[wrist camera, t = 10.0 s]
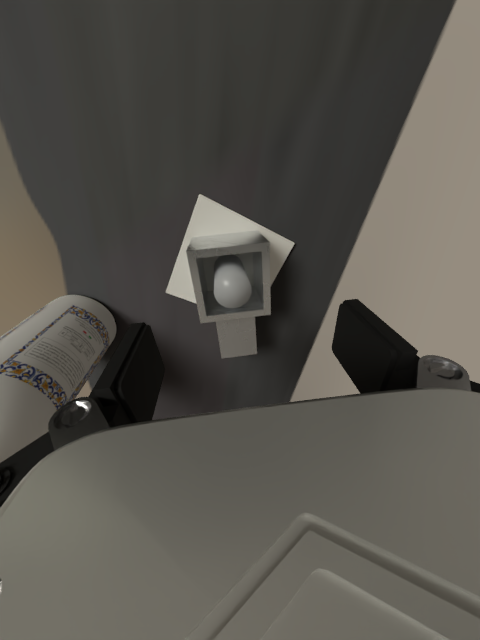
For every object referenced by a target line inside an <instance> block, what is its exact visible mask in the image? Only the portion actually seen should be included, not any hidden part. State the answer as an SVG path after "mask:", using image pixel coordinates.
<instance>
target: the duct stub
mask: <svg viewBox="0 0 480 640" xmlns="http://www.w3.org/2000/svg"><path fill="white" fill-rule="evenodd" d="M255 230H258V231H259V232H260V233H261V234H262V235H263V236H264V237H265V238H266V239H267V240H268V241H269V242H270V287H271V285H272V283H273V281H274V280H275V278H276V276H277V274H278V272H279V271H280V269H281V267H282V265H283V264H284V262H285V260H286V258H287V256H288V255H289V253H290V251H291V249H292V248H293V246H294V244H295V243H294V242H292V241H290V240H288V239H286V238H284V237H282V236H280V235H278V234H276V233H274V232H273V231H271V230H269V229H267V228H265V227H263V226H261V225H259V224H257V223H255V222H253V221H251V220H249V219H247V218H246V217H244V216H242V215H240V214H238V213H236V212H234V211H232V210H230V209H228V208H226V207H224V206H222V205H220V204H218V203H217V202H215V201H213V200H211V199H209V198H207V197H205V196H203V195H201V194H199V196H198V199H197V202H196V205H195V208H194V211H193V214H192V217H191V220H190V223H189V226H188V229H187V231H186V234H185V237H184V240H183V243H182V246H181V249H180V252H179V255H178V258H177V261H176V264H175V266H174V269H173V272H172V275H171V278H170V281H169V284H168V287H167V290H166V293H169V294H171V295H174V296H177V297H180V298H182V299H185V300H188V301H191V302H193V303H196V298H195V293H194V288H193V283H192V278H191V273H190V268H189V263H188V258H187V253H186V250H187V248H188V246H189V243H190V241H191V239H192V237H199V236H208V235H218V234H227V233H236V232H246V231H255ZM202 260H203V266H204V272H205V278H206V283H207V289H208V291H214V296H215V298H216V300H217V302H218V303H219V304H221V305H222V306H224V307H227V308H238V307H241V306H242V305H244V304H245V303H246V302H247V301H248V300H249V298H250V296H251V292H252V289H251V286H254V274H253V256H252V252H249V253H240V254H231V255H222V256H213V257H204V258H202ZM196 304H197V303H196Z"/></svg>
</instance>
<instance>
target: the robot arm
mask: <svg viewBox="0 0 480 640" xmlns="http://www.w3.org/2000/svg"><path fill="white" fill-rule="evenodd" d="M332 351H333V353H334V355H335V356H336V358H337V359H338V360H339V362H340V364H341V365H342V367H343V368H344V370H345V371H346V372H347V374H348V375H349V377H350V378H351V380H352V381H353V383H354V384H355V386H356V387H357V389H358V390H359V392H360V393H361V394H353V395H345V396H337V397H329V398H320V399H312V400H304V401H297V402H287V403H279V404H271V405H264V406H256V407H248V408H240V409H232V410H225V411H217V412H209V413H202V414H194V415H187V416H179V417H172V418H165V419H158V420H152V417H153V414H154V410H155V406H156V402H157V399H158V395H159V391H160V387H161V384H162V380H163V376H164V364H163V362H162V359H161V356H160V353H159V350H158V347H157V344H156V341H155V339H154V336H153V333H152V330H151V327H150V326H149V325H146V324H145V323H135V324H131V325H130V327H129V329H128V330H127V332H126V334H125V335H124V337H123V339H122V341H121V342H120V344H119V346H118V347H117V349H116V351H115V353H114V354H113V356H112V357H111V359H110V361H109V363H108V364H107V366H106V368H105V369H104V371H103V373H102V375H101V376H100V378H99V380H98V381H97V383H96V385H95V387H94V388H93V390H92V392H91V393H90V395H89V397H80V398H77V399H74V400H72V401H70V402H68V403H66V404H65V405H63V406H61V407H60V408H59V409H58V410H57V411H56V412H55V413H54V414H53V416H52V417H51V418H50V421H49V423H48V430H49V431H48V432H47V433H45V434H44V435H42V436H41V437H39V438H38V439H36V440H35V441H33V442H32V443H30V444H29V445H27V446H25V447H24V448H22V449H21V450H19V451H18V452H16V453H15V454H13V455H12V456H10V457H9V458H7V459H6V460H4V461H2V462H1V463H0V640H480V384H479V383H475V382H472V381H470V380H469V375H468V373H467V371H466V370H465V369H464V368H463V367H462V366H460V365H459V364H457V363H456V362H454V361H452V360H450V359H447V358H444V357H440V356H435V355H427V356H423V357H421V358H419V357H418V356H417V355H416V354H417V352H418V351H417V350H416V349H415V348H414V347H413V346H411V345H410V344H409V343H408V342H407V341H406V340H405V339H403V338H402V337H401V336H400V335H399V334H398V333H396V332H395V331H394V330H393V329H392V328H390V327H389V326H388V325H387V324H386V323H385V322H384V321H382V320H381V319H380V318H379V317H378V316H377V315H375V314H374V313H373V312H372V311H371V310H369V309H368V308H367V307H366V306H365V305H364V304H363V303H361V302H360V301H359V300H358V299H353V300H345V301H344V302H343V304H340V306H339V311H338V316H337V322H336V327H335V333H334V338H333V343H332Z"/></svg>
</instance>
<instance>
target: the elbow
mask: <svg viewBox="0 0 480 640" xmlns="http://www.w3.org/2000/svg"><path fill="white" fill-rule="evenodd" d="M249 252H252V256H253V274H254V286H251V289H252V292H251V296H250V298H249V300H248V301H247V302H246V303H245V304H244V305H242V306H241V307H238V308H227V307H224V306H222V305H221V304H219V303H218V302H217V300H216V298H215V296H214V291H208V289H207V283H206V278H205V272H204V266H203V260H202V258H204V257H213V256H222V255H231V254H240V253H249ZM186 253H187V258H188V263H189V268H190V273H191V278H192V283H193V288H194V293H195V298H196V303H197V308H198V313H199V318H200V323H206V322H215V321H216V326H217V332H218V338H219V345H220V351H221V357H222V358H228V357H236V356H244V355H251V354H257V344H256V327H255V316H263V315H271V296H270V242H269V241H268V240H267V239H266V238H265V237H264V236H263V235H262V234H261V233H260V232H259V231H258V230H255V231H246V232H236V233H227V234H218V235H208V236H199V237H192V239H191V241H190V243H189V246H188V248H187V250H186Z"/></svg>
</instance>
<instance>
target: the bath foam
mask: <svg viewBox="0 0 480 640" xmlns="http://www.w3.org/2000/svg"><path fill="white" fill-rule="evenodd" d="M115 335H116V323H115V320H114V317H113V316H112V314H111V313H110V312H109V310H108V309H107V308H106V307H104V306H103V305H102V304H100V303H99V302H97V301H95V300H93V299H91V298H88V297H85V296H80V295H66V296H62V297H59V298H57V299H55V300H53V301H52V302H50V303H49V304H47V305H46V306H45V307H43V308H41V309H40V310H38V311H37V312H35V313H34V314H33V315H31V316H30V317H28V318H27V319H25V320H24V321H22V322H21V323H20V324H18V325H17V326H15V327H14V328H12V329H11V330H10V331H8V332H7V333H5V334H4V335H2V336H1V337H0V463H1V462H2V461H4V460H6V459H7V458H9V457H10V456H12V455H13V454H15V453H16V452H18V451H19V450H21V449H22V448H24V447H25V446H27V445H29V444H30V443H32V442H33V441H35V440H36V439H38V438H39V437H41V436H42V435H44V434H45V433H47V432H48V431H49V430H48V423H49V421H50V418H51V417H52V416H53V414H54V413H55V412H56V411H57V410H58V409H59V408H60V407H61V406H63V405H65V404H66V403H68V402H70V401H72V400H74V399H75V398H76V396H77V395H78V393H79V392H80V390H81V389H82V387H83V386H84V384H85V383H86V381H87V380H88V378H89V377H90V375H91V374H92V372H93V371H94V369H95V367H96V366H97V364H98V363H99V361H100V360H101V358H102V357H103V355H104V354H105V352H106V351H107V349H108V347H109V346H110V344H111V343H112V341H113V340H114V338H115Z"/></svg>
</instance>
